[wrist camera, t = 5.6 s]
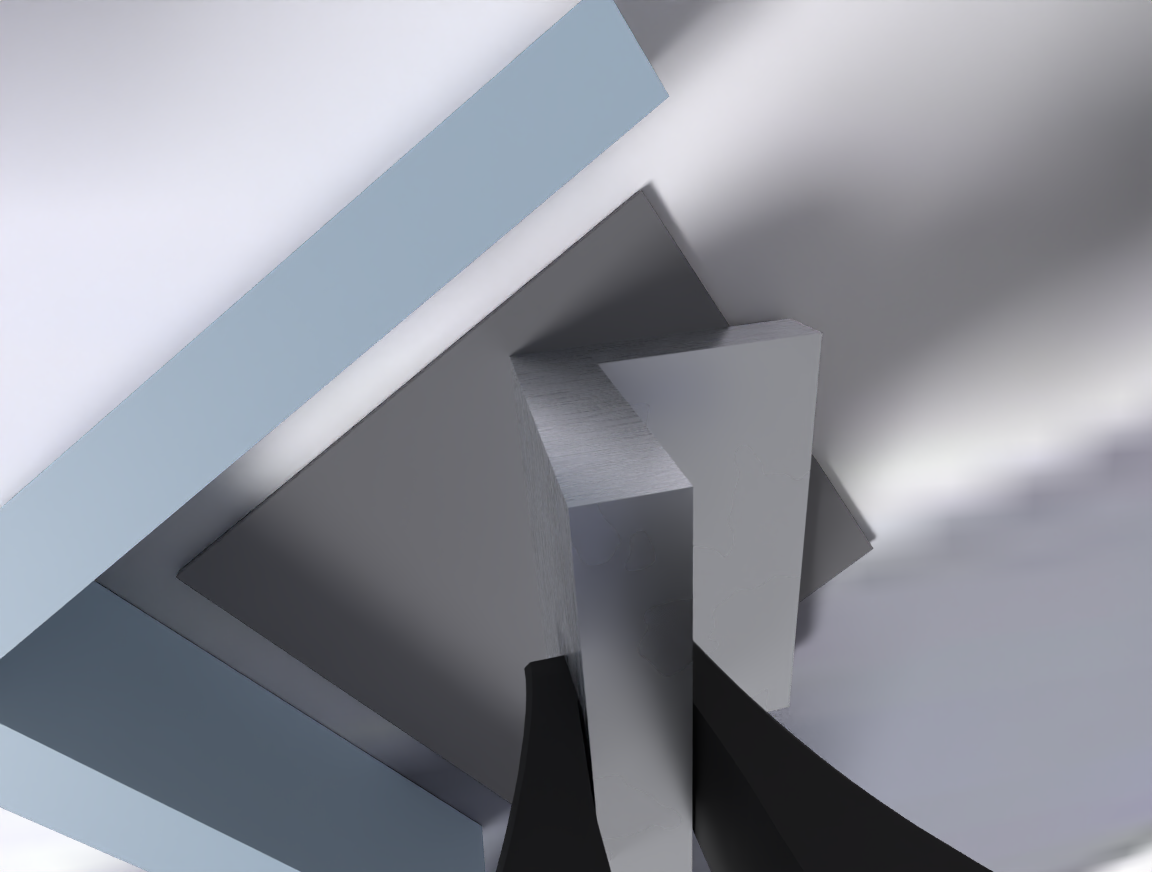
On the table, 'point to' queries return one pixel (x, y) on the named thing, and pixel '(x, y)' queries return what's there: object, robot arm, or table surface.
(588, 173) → the table surface
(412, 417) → the pad
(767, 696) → the angle bracket
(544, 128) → the corner walls
